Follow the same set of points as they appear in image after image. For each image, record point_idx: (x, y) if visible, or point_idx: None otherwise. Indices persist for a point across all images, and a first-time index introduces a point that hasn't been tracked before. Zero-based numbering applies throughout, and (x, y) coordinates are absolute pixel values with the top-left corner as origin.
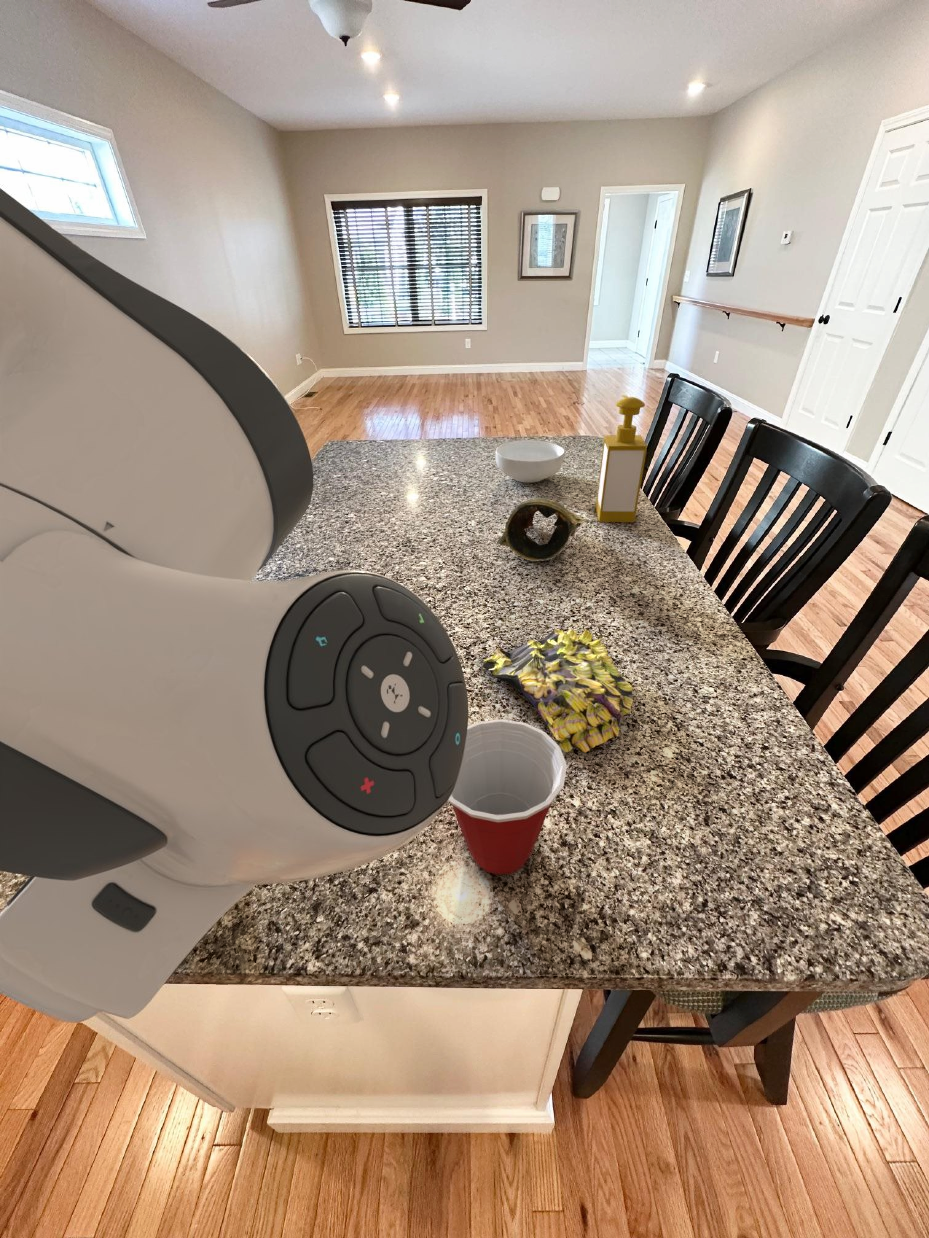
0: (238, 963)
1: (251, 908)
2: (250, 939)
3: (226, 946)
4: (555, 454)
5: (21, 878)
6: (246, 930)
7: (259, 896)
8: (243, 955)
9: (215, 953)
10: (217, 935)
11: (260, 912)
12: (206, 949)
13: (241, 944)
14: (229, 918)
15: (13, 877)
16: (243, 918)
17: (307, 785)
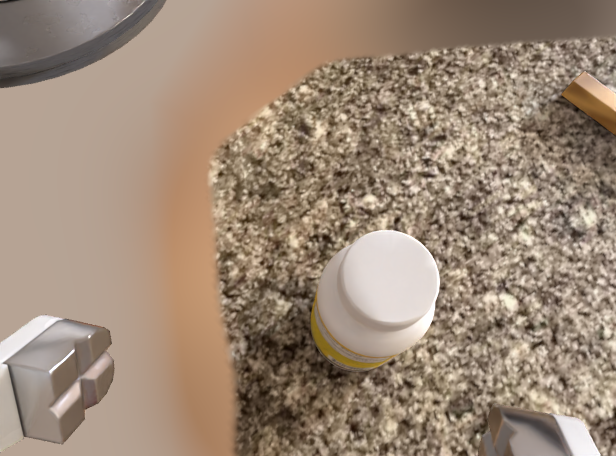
0: (238, 449)
1: (315, 424)
2: (272, 449)
3: (258, 415)
4: None
5: (297, 95)
6: (283, 434)
7: (334, 427)
8: (249, 451)
9: (246, 403)
10: (270, 391)
11: (312, 443)
12: (250, 385)
13: (263, 438)
14: (295, 395)
15: (296, 86)
16: (299, 419)
17: None
